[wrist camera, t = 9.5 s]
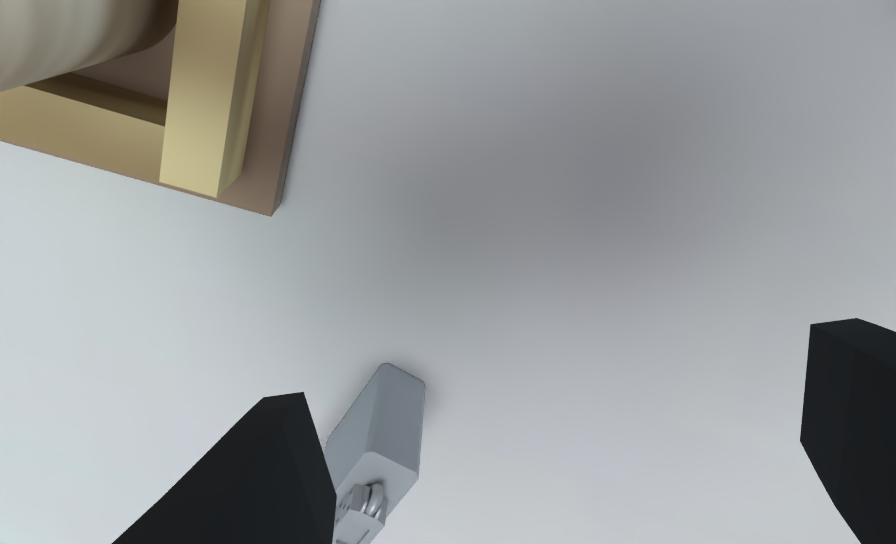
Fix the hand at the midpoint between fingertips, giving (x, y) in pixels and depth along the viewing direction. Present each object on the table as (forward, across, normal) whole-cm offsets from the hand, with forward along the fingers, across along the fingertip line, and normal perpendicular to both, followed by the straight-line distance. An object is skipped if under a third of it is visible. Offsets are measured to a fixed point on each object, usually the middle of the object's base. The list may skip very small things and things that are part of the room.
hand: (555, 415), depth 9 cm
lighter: (+11, +6, +8) cm, 15 cm away
